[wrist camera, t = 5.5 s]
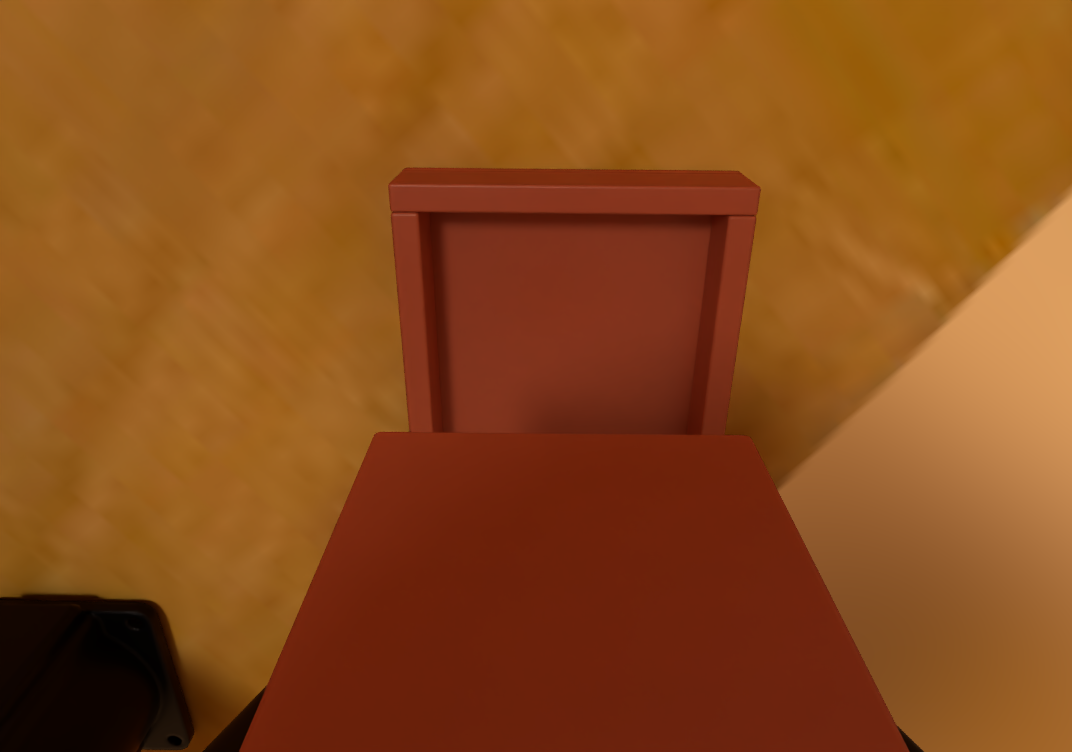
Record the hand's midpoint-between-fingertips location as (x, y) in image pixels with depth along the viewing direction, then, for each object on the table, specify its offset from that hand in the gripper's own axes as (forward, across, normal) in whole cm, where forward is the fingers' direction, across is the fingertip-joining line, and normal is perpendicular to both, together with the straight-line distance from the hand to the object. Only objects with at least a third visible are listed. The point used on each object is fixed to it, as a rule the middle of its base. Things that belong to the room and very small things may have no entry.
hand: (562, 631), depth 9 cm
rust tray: (+10, 0, 0) cm, 10 cm away
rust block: (+1, 0, 0) cm, 1 cm away
